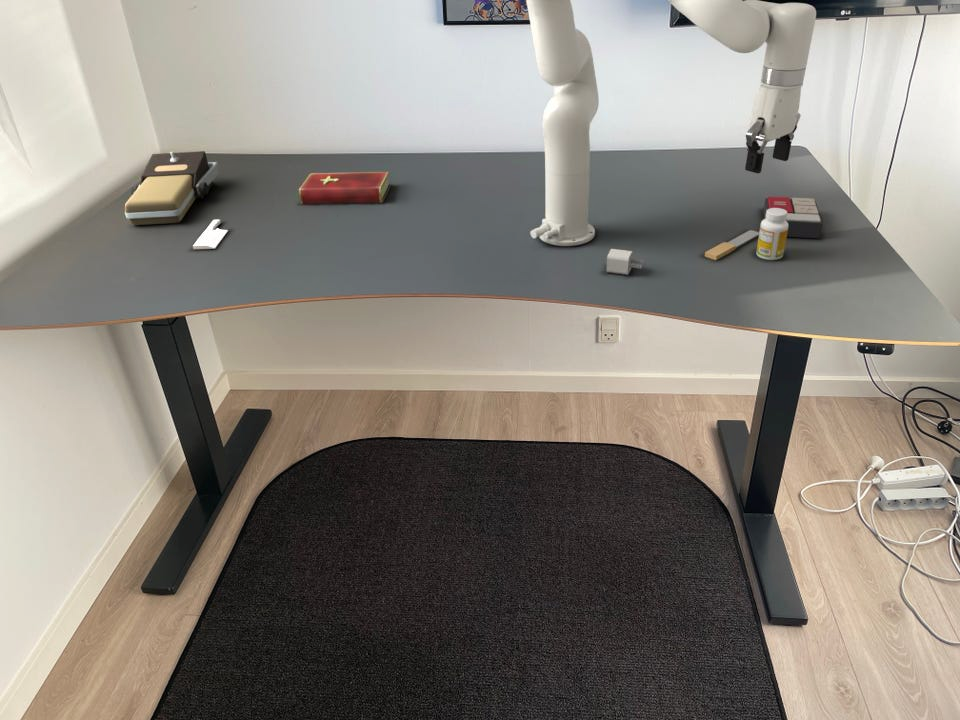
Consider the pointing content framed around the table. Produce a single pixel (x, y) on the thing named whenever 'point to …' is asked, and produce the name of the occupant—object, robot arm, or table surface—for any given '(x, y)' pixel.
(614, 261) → the usb wall charger
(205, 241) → the butcher knife
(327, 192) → the hardcover book
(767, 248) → the supplement bottle
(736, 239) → the chisel
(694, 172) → the table surface
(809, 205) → the calculator
